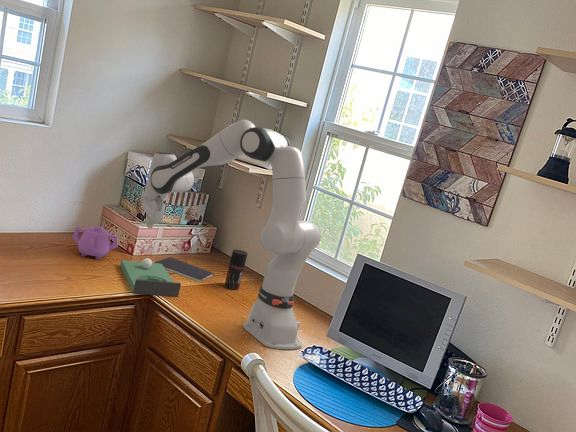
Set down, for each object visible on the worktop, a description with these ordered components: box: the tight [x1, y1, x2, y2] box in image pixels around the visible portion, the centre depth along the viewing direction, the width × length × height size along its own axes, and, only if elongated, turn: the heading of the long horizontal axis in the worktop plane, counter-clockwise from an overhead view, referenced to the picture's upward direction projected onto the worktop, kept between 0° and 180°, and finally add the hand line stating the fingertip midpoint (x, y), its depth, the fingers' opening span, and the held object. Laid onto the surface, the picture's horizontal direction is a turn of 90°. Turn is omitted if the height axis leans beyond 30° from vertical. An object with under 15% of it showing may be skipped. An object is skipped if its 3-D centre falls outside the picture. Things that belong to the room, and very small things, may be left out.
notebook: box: [154, 256, 215, 282], centre depth 244 cm, size 13×2×21 cm
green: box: [119, 259, 182, 298], centre depth 221 cm, size 27×16×5 cm, turn 26°
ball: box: [140, 257, 153, 269], centre depth 227 cm, size 4×4×4 cm
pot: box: [71, 225, 119, 260], centre depth 233 cm, size 18×17×12 cm
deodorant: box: [223, 249, 248, 291], centre depth 237 cm, size 6×6×15 cm
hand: (149, 227), depth 230 cm, fingers closed
